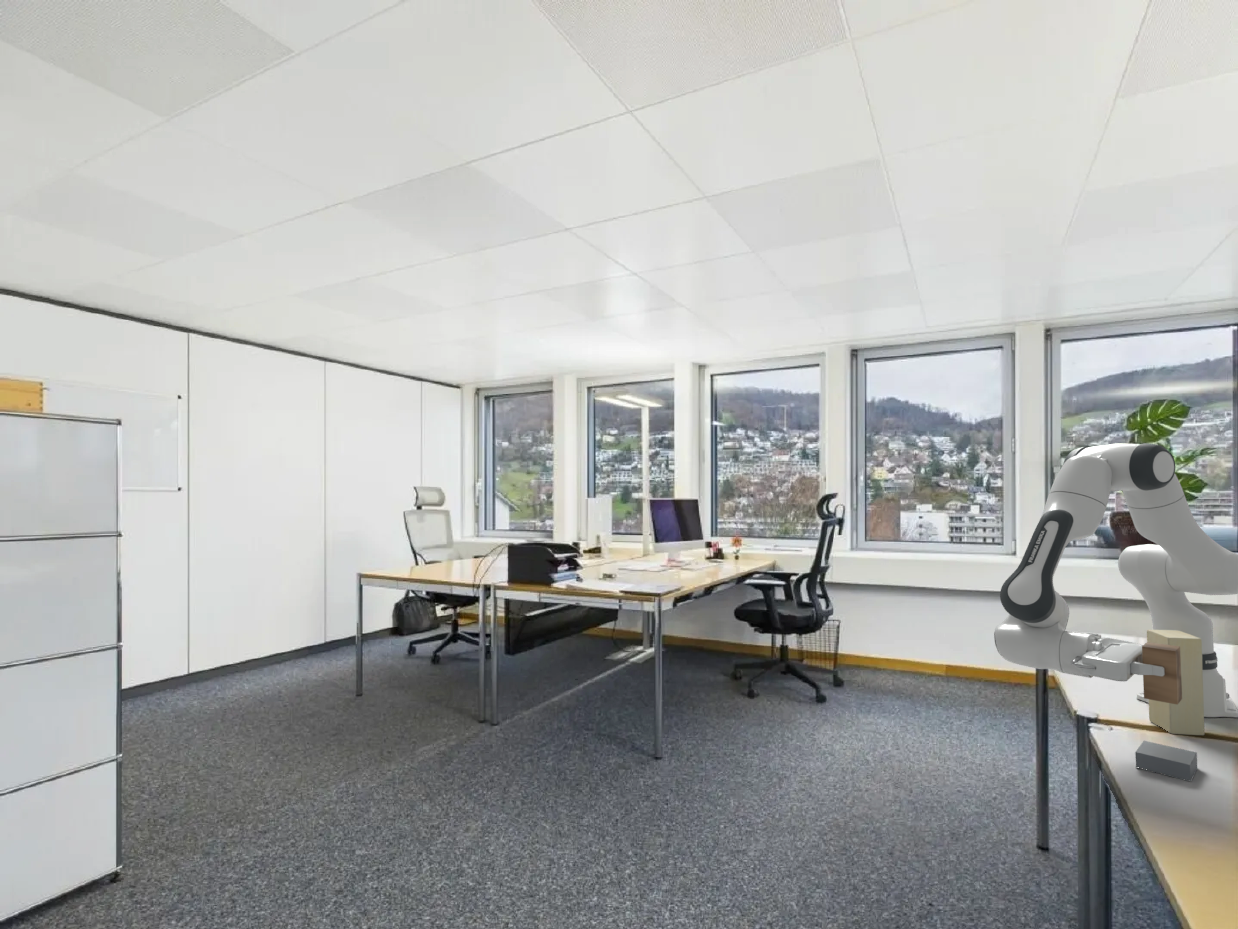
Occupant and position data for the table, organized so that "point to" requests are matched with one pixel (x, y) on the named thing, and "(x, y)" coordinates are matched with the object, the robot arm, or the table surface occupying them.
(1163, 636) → the tall pale wood block
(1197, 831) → the table surface
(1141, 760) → the base brick
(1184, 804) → the table surface
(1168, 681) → the walnut brick
